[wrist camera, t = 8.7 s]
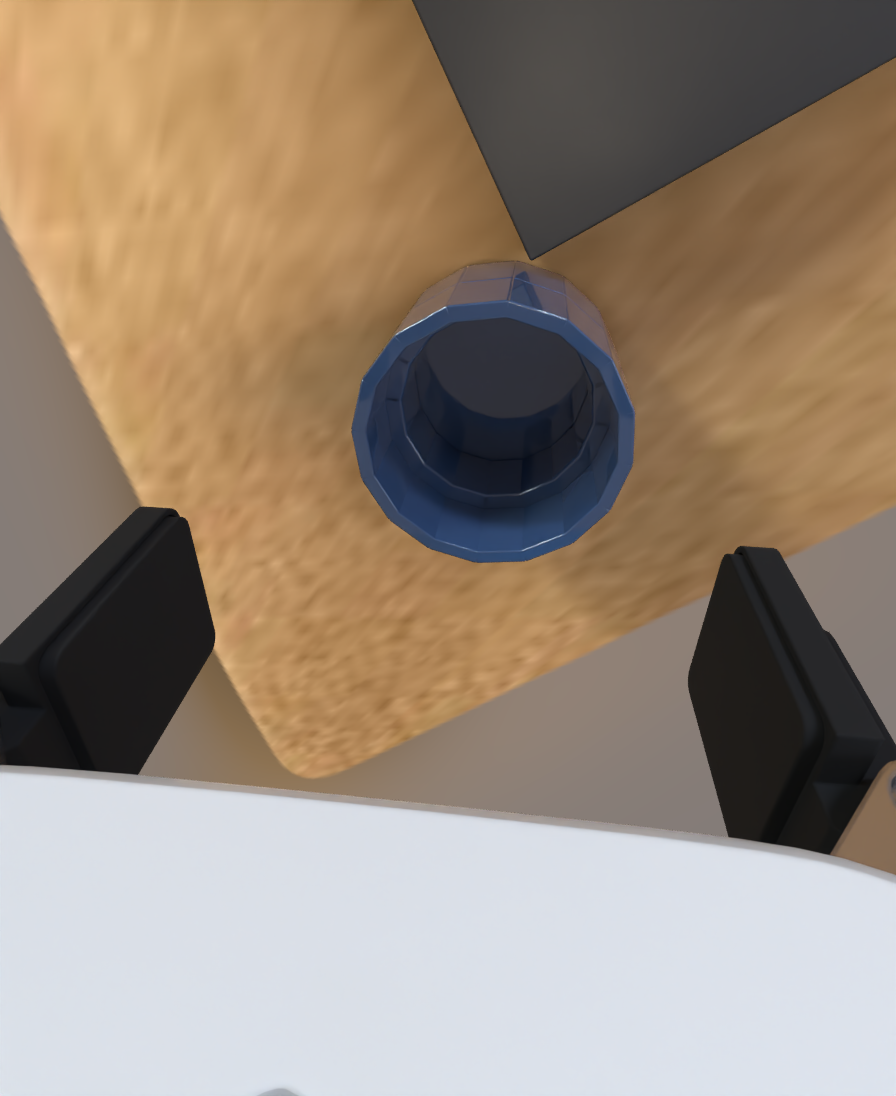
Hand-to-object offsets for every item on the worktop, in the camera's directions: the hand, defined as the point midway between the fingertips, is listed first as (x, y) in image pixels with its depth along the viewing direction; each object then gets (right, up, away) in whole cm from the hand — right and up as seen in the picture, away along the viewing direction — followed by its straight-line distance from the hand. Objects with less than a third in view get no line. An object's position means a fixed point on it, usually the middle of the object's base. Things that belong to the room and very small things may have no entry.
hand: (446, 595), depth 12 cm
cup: (+2, +6, +10) cm, 12 cm away
